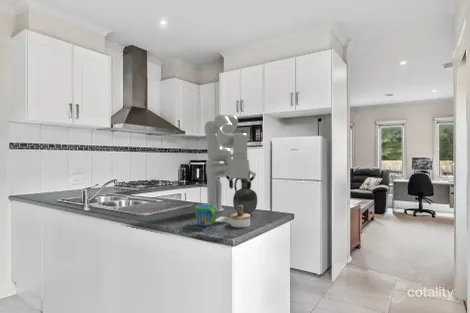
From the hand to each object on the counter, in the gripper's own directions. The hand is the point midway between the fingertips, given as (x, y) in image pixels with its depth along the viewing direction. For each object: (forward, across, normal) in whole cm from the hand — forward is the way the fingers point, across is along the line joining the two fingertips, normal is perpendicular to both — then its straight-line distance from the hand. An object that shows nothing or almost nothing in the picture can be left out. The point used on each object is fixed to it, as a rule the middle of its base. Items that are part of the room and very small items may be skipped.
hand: (240, 188), depth 155 cm
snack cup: (+20, -18, -5) cm, 27 cm away
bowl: (+20, 0, 0) cm, 20 cm away
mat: (+20, -11, +9) cm, 24 cm away
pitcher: (+20, -5, +23) cm, 31 cm away
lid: (+15, 0, 0) cm, 15 cm away
